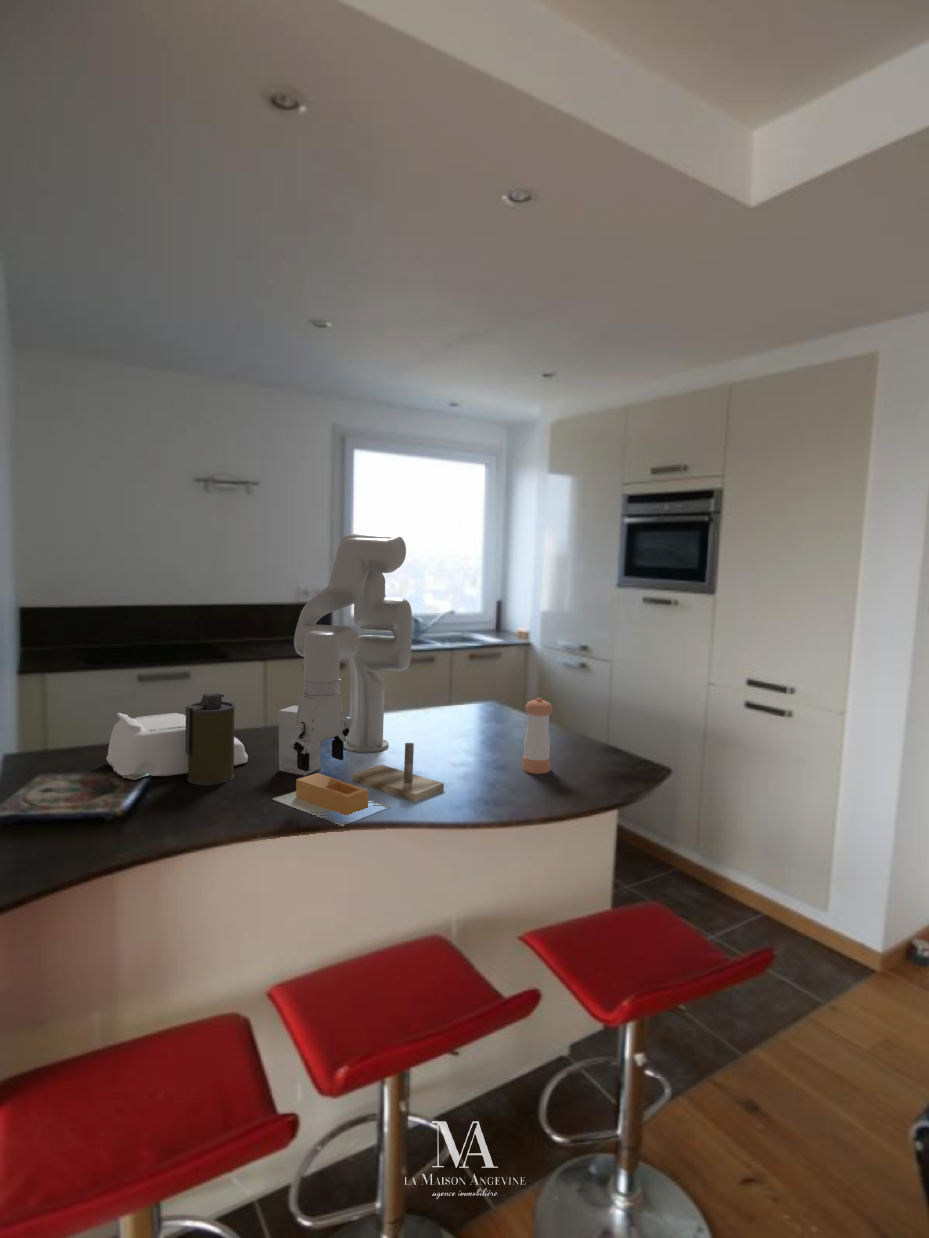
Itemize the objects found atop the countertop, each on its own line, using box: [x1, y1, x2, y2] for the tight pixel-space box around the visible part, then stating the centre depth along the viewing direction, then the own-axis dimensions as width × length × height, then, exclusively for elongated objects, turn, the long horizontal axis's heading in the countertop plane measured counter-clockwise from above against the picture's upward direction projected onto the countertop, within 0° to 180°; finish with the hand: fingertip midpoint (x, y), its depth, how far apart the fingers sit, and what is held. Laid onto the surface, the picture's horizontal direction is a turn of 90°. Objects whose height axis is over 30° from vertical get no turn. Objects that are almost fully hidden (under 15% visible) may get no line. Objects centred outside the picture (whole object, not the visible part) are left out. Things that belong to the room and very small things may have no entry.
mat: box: [272, 790, 391, 827], centre depth 144 cm, size 22×14×1 cm, turn 53°
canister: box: [185, 692, 236, 786], centre depth 156 cm, size 11×10×20 cm
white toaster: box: [106, 712, 249, 777], centre depth 166 cm, size 19×30×13 cm, turn 128°
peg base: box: [351, 742, 445, 803], centre depth 156 cm, size 20×10×11 cm, turn 53°
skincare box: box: [277, 705, 321, 777], centre depth 165 cm, size 8×7×16 cm
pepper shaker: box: [521, 697, 554, 775], centre depth 173 cm, size 7×7×19 cm
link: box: [295, 772, 369, 815], centre depth 144 cm, size 16×6×4 cm, turn 53°
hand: (320, 764), depth 146 cm, fingers open, 9 cm apart
